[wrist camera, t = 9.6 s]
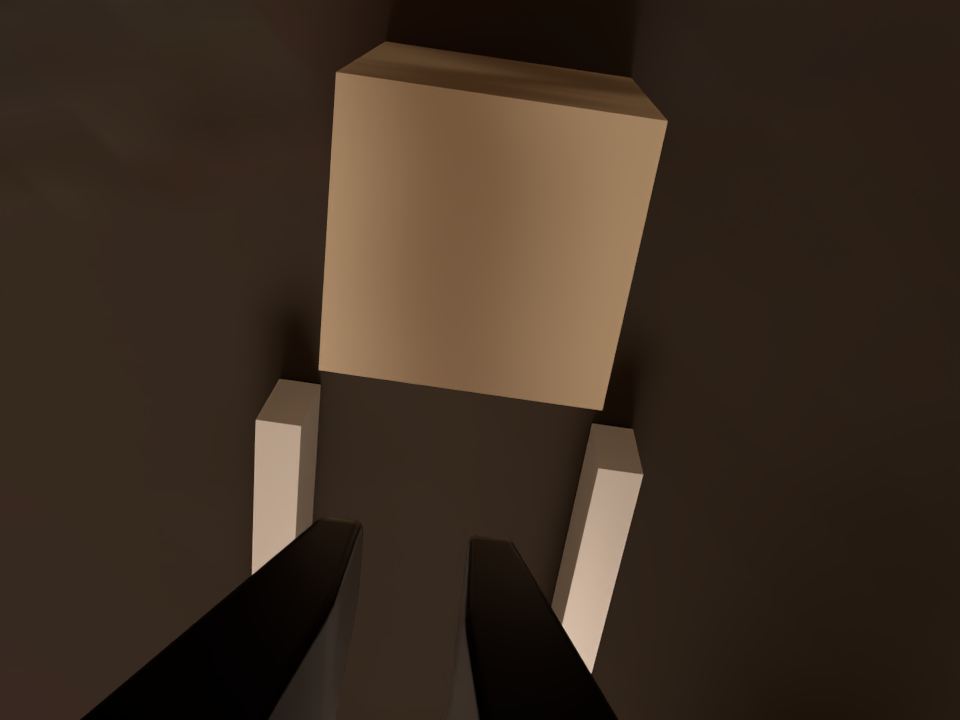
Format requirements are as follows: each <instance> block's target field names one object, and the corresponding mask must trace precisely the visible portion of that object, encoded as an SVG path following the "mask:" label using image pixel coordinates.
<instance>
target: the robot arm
mask: <svg viewBox="0 0 960 720" xmlns="http://www.w3.org/2000/svg"><path fill="white" fill-rule="evenodd" d="M362 542H363V527H362V525H361V523H360V522H359V521H356V520H347V519H339V518H331V517H323V518H320V519H318V520H317V521H316V522H314V523H313V524H312V525H311V526H310V527H308V528H307V529H306V530H305V531H304V532H302V533H301V534H300V535H299V536H298V537H297V538H295V539H294V540H293V541H292V542H291V543H289V544H288V545H287V546H286V547H285V548H283V549H282V550H281V551H280V552H279V553H278V554H276V555H275V556H274V557H273V558H272V559H270V560H269V561H268V562H267V563H266V564H264V565H263V566H262V567H261V568H260V569H259V570H257V571H256V572H255V573H254V574H253V575H251V576H250V577H249V578H248V579H247V580H245V581H244V582H243V583H242V584H241V585H240V586H238V587H237V588H236V589H235V590H234V591H232V592H231V593H230V594H229V595H228V596H226V597H225V598H224V599H223V600H222V601H221V602H219V603H218V604H217V605H216V606H215V607H213V608H212V609H211V610H210V611H209V612H207V613H206V614H205V615H204V616H203V617H202V618H200V619H199V620H198V621H197V622H196V623H194V624H193V625H192V626H191V627H190V628H188V629H187V630H186V631H185V632H184V633H183V634H181V635H180V636H179V637H178V638H177V639H175V640H174V641H173V642H172V643H171V644H169V645H168V646H167V647H166V648H165V649H164V650H162V651H161V652H160V653H159V654H158V655H156V656H155V657H154V658H153V659H152V660H150V661H149V662H148V663H147V664H146V665H145V666H143V667H142V668H141V669H140V670H139V671H137V672H136V673H135V674H134V675H133V676H131V677H130V678H129V679H128V680H127V681H126V682H124V683H123V684H122V685H121V686H120V687H118V688H117V689H116V690H115V691H114V692H112V693H111V694H110V695H109V696H108V697H107V698H105V699H104V700H103V701H102V702H101V703H99V704H98V705H97V706H96V707H95V708H93V709H92V710H91V711H90V712H89V713H88V714H86V715H85V716H84V717H83V718H82V719H80V720H335V717H336V712H337V707H338V701H339V696H340V691H341V686H342V681H343V676H344V671H345V666H346V661H347V655H348V650H349V645H350V640H351V635H352V630H353V625H354V620H355V614H356V609H357V603H358V596H359V587H360V572H361V557H362ZM447 720H618V718H617V717H616V715H615V713H614V711H613V710H612V708H611V706H610V705H609V703H608V701H607V700H606V698H605V696H604V695H603V693H602V691H601V690H600V688H599V686H598V685H597V683H596V681H595V680H594V678H593V676H592V675H591V673H590V671H589V670H588V668H587V666H586V665H585V663H584V661H583V659H582V658H581V656H580V654H579V653H578V651H577V649H576V648H575V646H574V644H573V643H572V641H571V639H570V638H569V636H568V634H567V633H566V631H565V629H564V628H563V626H562V624H561V623H560V621H559V619H558V618H557V616H556V614H555V612H554V611H553V609H552V607H551V606H550V604H549V602H548V601H547V599H546V597H545V596H544V594H543V592H542V591H541V589H540V587H539V586H538V584H537V582H536V581H535V579H534V577H533V576H532V574H531V572H530V571H529V569H528V567H527V566H526V564H525V562H524V560H523V559H522V557H521V555H520V554H519V552H518V550H517V549H516V547H515V545H514V544H513V542H511V541H510V540H509V539H506V538H498V537H489V536H481V535H474V536H472V537H471V538H470V539H469V542H468V547H467V554H466V562H465V569H464V577H463V584H462V591H461V599H460V607H459V615H458V624H457V634H456V643H455V653H454V662H453V672H452V681H451V691H450V700H449V710H448V719H447Z"/></svg>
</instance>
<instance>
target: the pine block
mask: <svg viewBox="0 0 960 720" xmlns="http://www.w3.org/2000/svg"><path fill="white" fill-rule="evenodd" d="M667 122H668V121H667V120H666V118H665V117H664V116H663V115H662V114H661V112H660V111H659V110H658V109H657V108H656V107H655V105H654V104H653V103H652V102H651V101H650V99H649V98H648V97H647V96H646V95H645V94H644V92H643V91H642V90H641V89H640V88H639V86H638V85H637V84H636V83H635V82H634V81H633V79H632V78H629V77H622V76H615V75H608V74H602V73H595V72H588V71H581V70H575V69H568V68H561V67H554V66H548V65H541V64H534V63H527V62H521V61H514V60H507V59H500V58H494V57H487V56H480V55H473V54H467V53H460V52H453V51H446V50H440V49H433V48H426V47H419V46H413V45H406V44H399V43H392V42H386V41H385V42H384V43H382V44H381V45H379V46H377V47H376V48H374V49H372V50H371V51H369V52H368V53H366V54H364V55H363V56H361V57H360V58H358V59H356V60H355V61H353V62H352V63H350V64H348V65H347V66H345V67H343V68H342V69H340V70H339V71H337V72H336V83H335V100H334V117H333V134H332V151H331V168H330V185H329V202H328V219H327V236H326V253H325V270H324V287H323V304H322V321H321V338H320V355H319V370H322V371H329V372H336V373H343V374H350V375H357V376H364V377H371V378H378V379H385V380H392V381H399V382H406V383H413V384H420V385H427V386H434V387H441V388H448V389H455V390H462V391H469V392H476V393H483V394H490V395H497V396H504V397H511V398H518V399H525V400H532V401H539V402H546V403H553V404H560V405H567V406H574V407H581V408H588V409H595V410H603V405H604V401H605V396H606V392H607V388H608V383H609V379H610V374H611V370H612V365H613V361H614V357H615V352H616V348H617V343H618V339H619V335H620V330H621V326H622V321H623V317H624V312H625V308H626V304H627V299H628V295H629V290H630V286H631V281H632V277H633V273H634V268H635V264H636V259H637V255H638V251H639V246H640V242H641V237H642V233H643V228H644V224H645V220H646V215H647V211H648V206H649V202H650V197H651V193H652V189H653V184H654V180H655V175H656V171H657V167H658V162H659V158H660V153H661V149H662V144H663V140H664V136H665V131H666V127H667Z"/></svg>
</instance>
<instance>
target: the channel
mask: <svg viewBox="0 0 960 720" xmlns="http://www.w3.org/2000/svg"><path fill="white" fill-rule="evenodd" d="M320 390H321V385H320V384H313V383H306V382H299V381H292V380H285V379H279V380H278V382H277V384H276V386H275V387H274V389H273V391H272V393H271V394H270V396H269V398H268V399H267V401H266V403H265V405H264V406H263V408H262V410H261V412H260V413H259V415H258V417H257V418H256V430H255V470H254V511H253V551H252V575H253V574H254V573H255V572H256V571H257V570H259V569H260V568H261V567H262V566H263V565H264V564H266V563H267V562H268V561H269V560H270V559H272V558H273V557H274V556H275V555H276V554H278V553H279V552H280V551H281V550H282V549H283V548H285V547H286V546H287V545H288V544H289V543H291V542H292V541H293V540H294V539H295V538H297V537H298V536H299V535H300V534H301V533H302V532H304V531H305V530H306V529H307V528H308V527H310V526H311V525H312V519H313V503H314V487H315V471H316V455H317V438H318V422H319V406H320ZM642 478H643V471H642V467H641V462H640V458H639V454H638V449H637V445H636V441H635V436H634V432H633V429H628V428H621V427H614V426H607V425H600V424H593V423H592V426H591V430H590V435H589V439H588V444H587V448H586V453H585V457H584V462H583V466H582V471H581V475H580V480H579V484H578V489H577V493H576V498H575V502H574V507H573V511H572V516H571V520H570V525H569V529H568V534H567V538H566V543H565V547H564V552H563V556H562V561H561V565H560V570H559V574H558V579H557V583H556V588H555V592H554V597H553V601H552V606H551V607H552V609H553V611H554V612H555V614H556V616H557V618H558V619H559V621H560V623H561V624H562V626H563V628H564V629H565V631H566V633H567V634H568V636H569V638H570V639H571V641H572V643H573V644H574V646H575V648H576V649H577V651H578V653H579V654H580V656H581V658H582V659H583V661H584V663H585V665H586V666H587V668H588V670H589V671H590V673H592V670H593V666H594V662H595V658H596V654H597V650H598V647H599V643H600V639H601V635H602V631H603V627H604V624H605V620H606V616H607V612H608V608H609V604H610V600H611V597H612V593H613V589H614V585H615V581H616V577H617V574H618V570H619V566H620V562H621V558H622V554H623V551H624V547H625V543H626V539H627V535H628V531H629V528H630V524H631V520H632V516H633V512H634V508H635V505H636V501H637V497H638V493H639V489H640V485H641V482H642Z"/></svg>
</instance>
